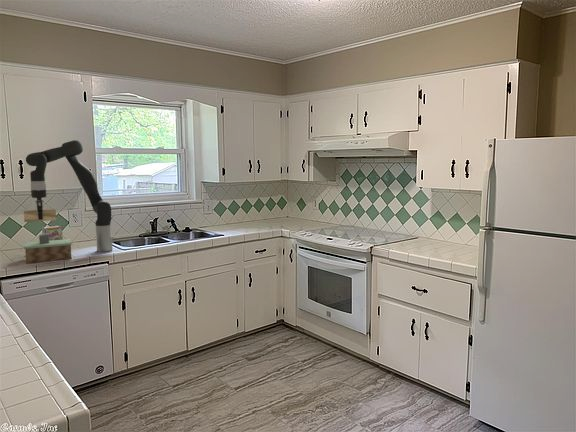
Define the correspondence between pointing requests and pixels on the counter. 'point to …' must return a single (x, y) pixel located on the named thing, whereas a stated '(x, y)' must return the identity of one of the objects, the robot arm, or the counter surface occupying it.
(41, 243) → the lid
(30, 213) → the tan block
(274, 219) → the counter surface
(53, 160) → the robot arm
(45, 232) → the candy bar box
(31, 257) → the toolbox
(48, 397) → the counter surface
